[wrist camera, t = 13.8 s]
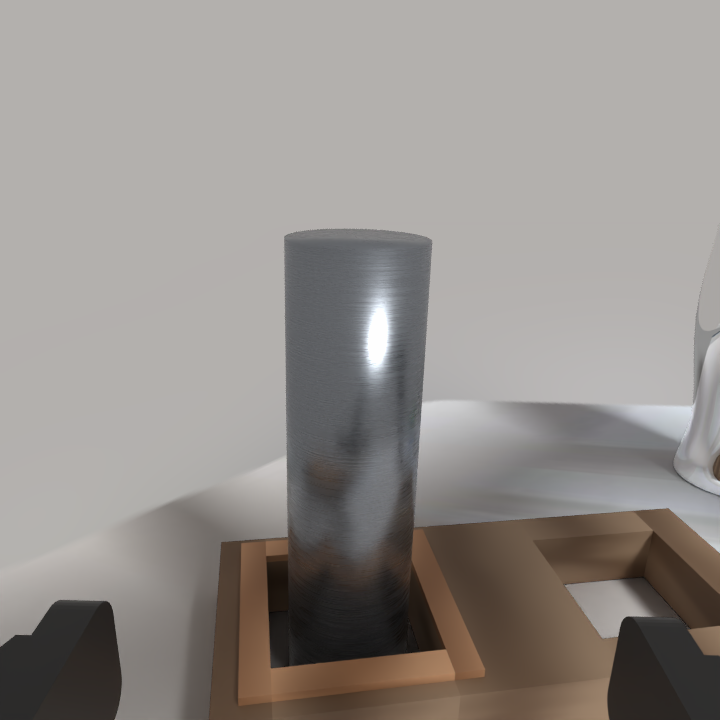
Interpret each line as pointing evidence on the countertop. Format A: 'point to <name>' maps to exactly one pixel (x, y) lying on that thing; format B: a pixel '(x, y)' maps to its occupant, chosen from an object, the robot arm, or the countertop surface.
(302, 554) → the metal peg
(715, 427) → the beer glass
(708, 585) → the wooden peg holder
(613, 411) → the countertop surface
